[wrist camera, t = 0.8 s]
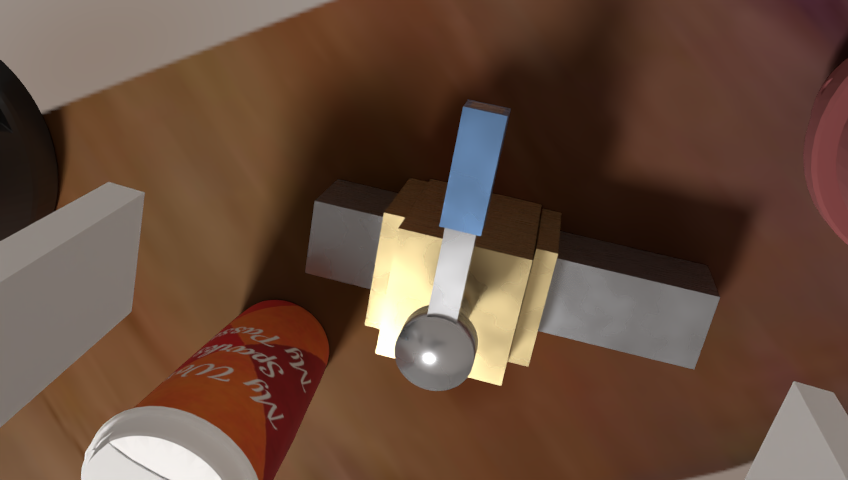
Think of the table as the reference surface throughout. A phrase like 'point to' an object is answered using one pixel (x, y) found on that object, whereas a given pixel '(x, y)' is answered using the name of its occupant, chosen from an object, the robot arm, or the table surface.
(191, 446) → the coffee cup
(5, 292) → the robot arm
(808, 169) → the mechanical component
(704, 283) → the pipe
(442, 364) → the lever
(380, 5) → the table surface
